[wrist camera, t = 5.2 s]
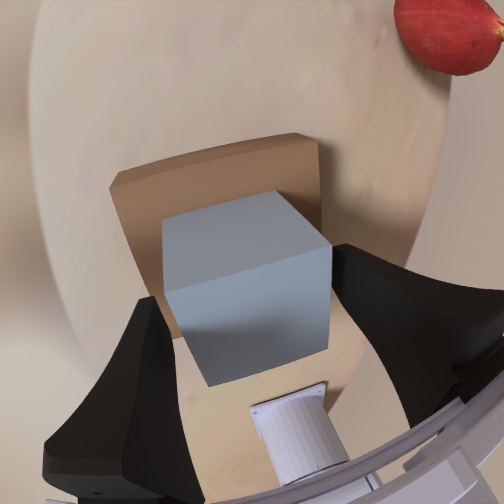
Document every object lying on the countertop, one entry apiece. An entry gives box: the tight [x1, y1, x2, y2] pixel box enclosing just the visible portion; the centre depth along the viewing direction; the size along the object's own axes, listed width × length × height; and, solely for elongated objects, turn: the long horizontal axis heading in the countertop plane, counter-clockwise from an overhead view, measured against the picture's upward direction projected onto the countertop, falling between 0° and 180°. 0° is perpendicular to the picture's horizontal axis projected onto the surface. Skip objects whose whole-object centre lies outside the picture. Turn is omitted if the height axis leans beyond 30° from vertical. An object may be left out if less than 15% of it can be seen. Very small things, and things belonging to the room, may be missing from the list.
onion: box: [394, 0, 504, 76], centre depth 8 cm, size 6×6×8 cm
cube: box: [162, 190, 332, 387], centre depth 12 cm, size 5×5×5 cm
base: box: [109, 133, 322, 339], centre depth 15 cm, size 9×9×3 cm
